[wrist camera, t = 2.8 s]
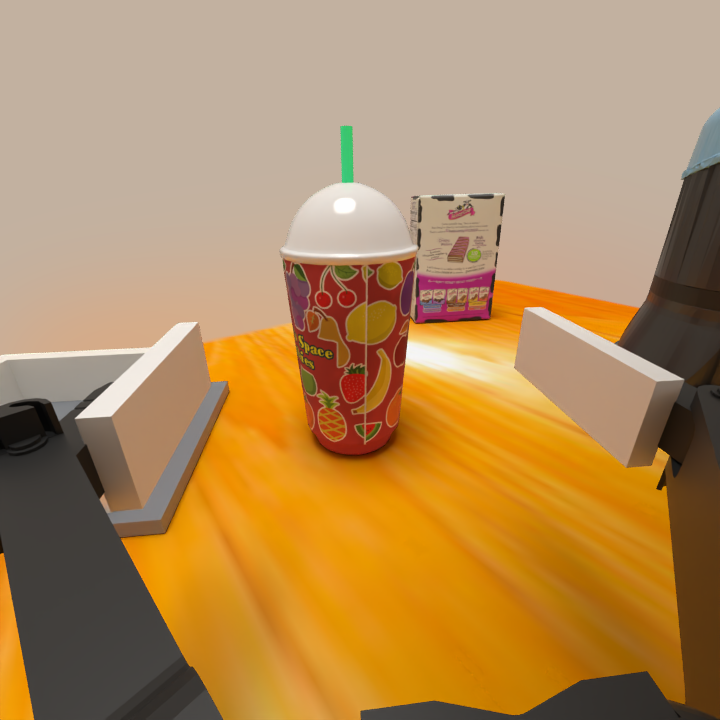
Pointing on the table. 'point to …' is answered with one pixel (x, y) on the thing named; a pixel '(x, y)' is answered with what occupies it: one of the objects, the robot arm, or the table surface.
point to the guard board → (78, 380)
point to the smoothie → (350, 309)
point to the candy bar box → (455, 255)
